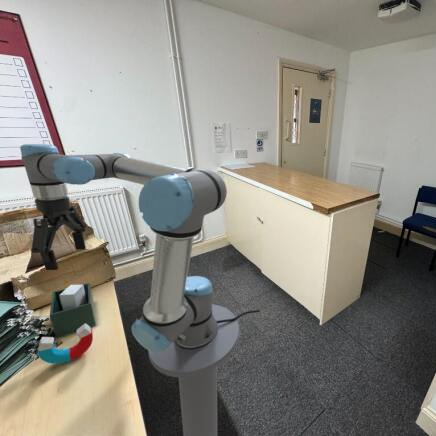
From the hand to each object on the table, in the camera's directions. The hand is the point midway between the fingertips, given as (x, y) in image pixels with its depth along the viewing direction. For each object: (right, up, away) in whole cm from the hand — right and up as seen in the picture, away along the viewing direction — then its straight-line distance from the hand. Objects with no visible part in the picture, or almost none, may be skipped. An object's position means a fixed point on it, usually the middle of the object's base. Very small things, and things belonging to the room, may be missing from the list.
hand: (67, 258), depth 78 cm
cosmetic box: (-4, -23, +8) cm, 25 cm away
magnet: (+6, -30, -5) cm, 31 cm away
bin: (-4, -24, +8) cm, 26 cm away
